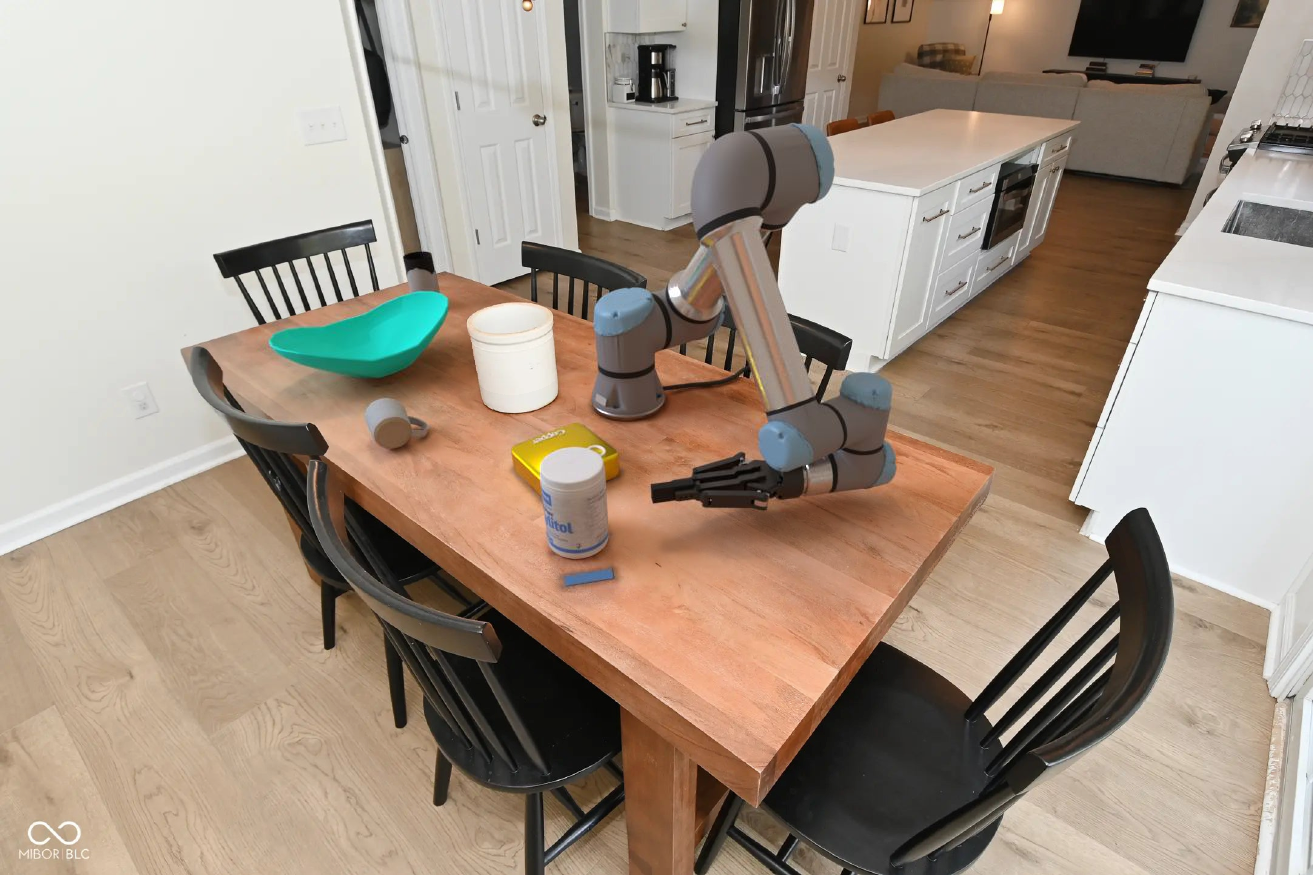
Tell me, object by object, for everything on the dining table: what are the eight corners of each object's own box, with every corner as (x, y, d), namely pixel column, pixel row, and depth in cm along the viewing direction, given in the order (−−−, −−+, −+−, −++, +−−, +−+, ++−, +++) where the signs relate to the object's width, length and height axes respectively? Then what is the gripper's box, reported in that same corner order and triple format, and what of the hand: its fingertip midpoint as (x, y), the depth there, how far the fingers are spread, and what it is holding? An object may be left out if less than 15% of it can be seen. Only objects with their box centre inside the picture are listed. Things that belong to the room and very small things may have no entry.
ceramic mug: (378, 456, 128) (368, 421, 124) (369, 436, 134) (360, 402, 130) (434, 440, 133) (427, 406, 128) (423, 422, 139) (416, 388, 134)
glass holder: (409, 315, 187) (396, 261, 179) (420, 296, 199) (409, 245, 191) (441, 313, 188) (430, 259, 180) (450, 295, 200) (440, 244, 192)
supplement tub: (536, 550, 105) (524, 473, 97) (569, 515, 112) (560, 440, 104) (590, 569, 101) (582, 489, 93) (621, 530, 108) (615, 454, 100)
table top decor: (316, 424, 139) (296, 366, 131) (268, 381, 155) (248, 327, 148) (483, 361, 162) (474, 308, 155) (426, 329, 179) (415, 280, 171)
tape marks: (597, 500, 115) (597, 500, 115) (613, 578, 99) (613, 577, 99) (555, 506, 114) (555, 505, 114) (565, 586, 98) (565, 585, 98)
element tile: (580, 438, 132) (578, 417, 129) (624, 474, 121) (622, 451, 119) (510, 466, 124) (506, 444, 122) (550, 506, 114) (547, 483, 111)
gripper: (785, 432, 112) (643, 450, 108) (815, 478, 101) (659, 499, 97) (781, 470, 116) (645, 488, 112) (810, 517, 105) (660, 539, 101)
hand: (651, 493), depth 105 cm, fingers closed
